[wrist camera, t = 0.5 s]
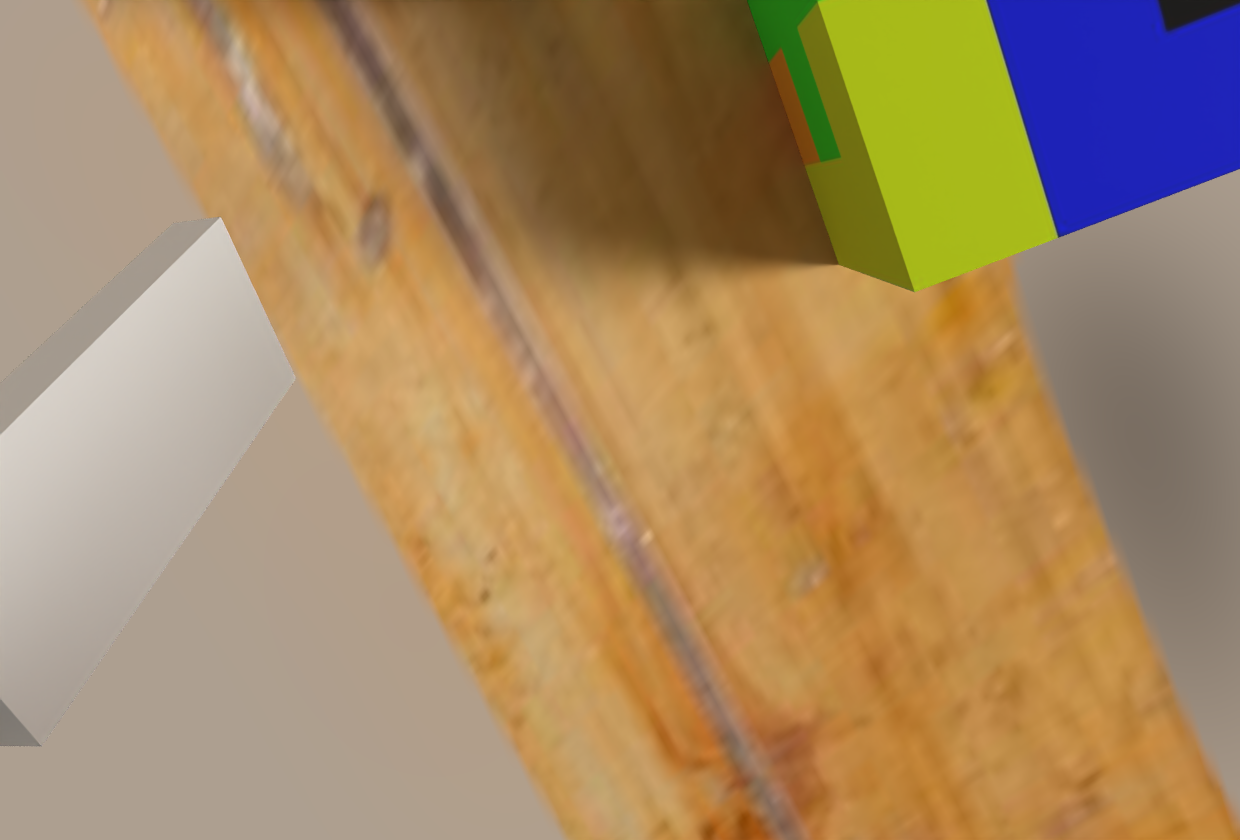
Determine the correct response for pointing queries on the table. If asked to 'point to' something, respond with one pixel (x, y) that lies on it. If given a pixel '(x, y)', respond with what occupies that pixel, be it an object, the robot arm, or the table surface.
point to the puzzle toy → (998, 118)
